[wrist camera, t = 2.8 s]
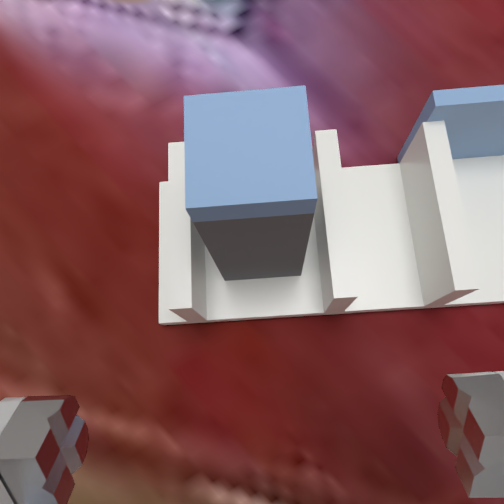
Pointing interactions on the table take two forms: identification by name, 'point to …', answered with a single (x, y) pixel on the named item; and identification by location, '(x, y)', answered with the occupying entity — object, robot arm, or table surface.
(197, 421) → the table surface
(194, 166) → the plug
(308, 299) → the slotted rack with block
